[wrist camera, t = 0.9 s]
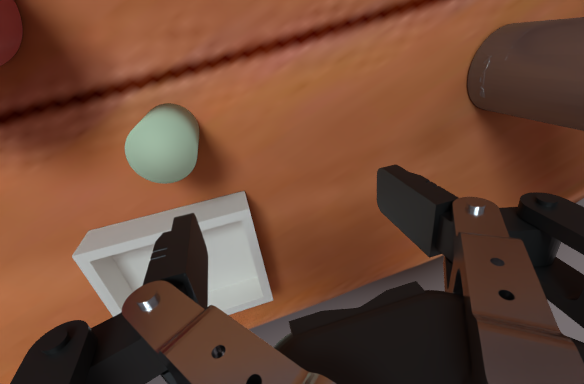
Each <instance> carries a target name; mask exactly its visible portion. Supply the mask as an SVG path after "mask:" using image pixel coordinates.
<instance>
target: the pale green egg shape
mask: <svg viewBox="0 0 584 384" xmlns="http://www.w3.org/2000/svg"><path fill="white" fill-rule="evenodd" d="M198 143H199V125H198V122H197V120H196V118H195V117H194V115H193V114H192V113H191V112H190V111H189V110H187V109H186V108H184V107H182V106H180V105H177V104H171V103H166V104H161V105H158V106H156V107H154V108H153V109H152V110H150V112H149V113H148V114H147V115H146V116H145V117H144V118H143V119H142V120H141V121H140V122H139V123H138V124H137V125H136V126H135V127H134V128H133V130H132V131H131V132H130V133H129V135H128V137H127V139H126V143H125V154H126V158H127V160H128V162H129V164H130V166H131V167H132V168H133V170H134V171H135V172H136V173H138V174H139V175H140V176H142V177H143V178H145V179H147V180H149V181H152V182H156V183H173V182H177V181H179V180H182V179H183V178H185V177H186V176H188V175H189V174H190V173H191V171H192V170H193V169H194V167H195V164H196V161H197V154H198Z"/></svg>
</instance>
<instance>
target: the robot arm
mask: <svg viewBox="0 0 584 384" xmlns="http://www.w3.org/2000/svg"><path fill="white" fill-rule="evenodd" d="M468 93H469V96H470V98H471V100H472V102H473V103H474V104H475V105H476V106H477V107H479V108H481V109H484V110H488V111H493V112H498V113H502V114H507V115H511V116H516V117H520V118H525V119H530V120H535V121H539V122H544V123H549V124H554V125H558V126H563V127H568V128H573V129H577V130H582V131H584V17H581V18H570V19H558V20H545V21H534V22H523V23H513V24H508V25H505V26H503V27H501V28H499V29H497V30H496V31H495V32H493V33H492V34H491V35H490V36H489V37H488V38H487V39H486V40H485V41H484V42H483V44H482V45H481V46H480V48H479V49H478V51H477V53H476V54H475V56H474V58H473V61H472V64H471V66H470V70H469V74H468ZM377 204H378V207H379V209H380V211H381V212H382V213H383V214H384V215H385V216H386V217H387V218H388V219H389V220H390V221H391V222H392V223H393V224H395V225H396V226H397V227H398V228H399V229H400V230H401V231H402V232H403V233H404V234H405V235H406V236H407V237H408V238H409V239H410V240H411V241H413V242H414V243H415V244H416V245H417V246H418V247H419V248H420V249H421V250H422V251H423V252H424V253H425V254H426V255H427V256H428V257H433V256H436V255H439V254H443V255H444V262H443V266H444V284H445V292H444V291H434V290H431V291H430V290H426V291H424V290H423V288H422V287H421V286H420V285H419V284H418V283H417V282H416V281H415V282H412V283H408V284H405V285H402V286H399V287H396V288H393V289H390V290H386V291H385V292H383V293H382V294H380V295H379V296H377V297H376V298H374V299H372V300H371V301H369V302H368V303H366V304H364V305H363V306H361V307H359V308H353V309H340V310H328V311H320V312H317V313H314V314H311V315H308V316H304V317H301V318H298V319H295V320H292V321H289V324H290V329H291V333H290V334H288V335H287V336H285V337H284V338H283V339H282V340H280V341H279V342H278V343H277V344H276V345H275V346H274V347H272V346H271V345H269V344H268V343H266V342H265V341H264V340H262V339H261V338H259V337H258V336H257V335H255V334H254V333H252V332H251V331H250V330H248V329H247V328H245V327H244V326H243V325H241V324H240V323H238V322H237V321H236V320H234V319H233V318H231V317H230V316H229V315H227V314H226V313H224V312H223V311H222V310H220V309H219V308H217V307H216V306H214V305H210V306H208V252H207V247H206V244H205V241H204V238H203V235H202V232H201V229H200V227H199V224H198V221H197V218H196V216H195V214H194V213H190V214H186V215H182V216H178V217H174V220H173V224H172V229H171V231H168V232H164V233H162V235H161V236H160V237H159V238H158V239H157V240H156V242H155V244H154V248H153V253H152V255H151V258H150V259H151V260H150V261H149V265H148V268H147V272H146V275H145V278H144V282H143V285H142V286H141V287H139V288H138V289H136V290H135V291H134V292H133V293H131V294H130V295H129V297H128V298H127V299H126V300H125V302H124V304H123V306H122V312H121V313H119V314H118V315H116V316H114V317H112V318H110V319H108V320H106V321H104V322H103V323H101V324H99V325H97V326H95V327H93V328H90V327H89V326H88V324H87V323H86V322H84V321H81V320H74V321H70V322H66V323H64V324H61V325H59V326H57V327H55V328H54V329H52V330H50V331H49V332H47V333H46V334H45V335H43V336H42V337H41V338H40V339H39V340H37V341H36V342H35V344H34V345H33V346H32V347H31V348H30V349H29V351H28V352H27V354H26V356H25V357H24V359H23V361H22V363H21V365H20V367H19V368H18V370H17V372H16V374H15V376H14V378H13V379H12V381H11V383H10V384H145V383H147V382H149V381H150V380H152V379H153V378H155V377H157V376H158V375H161V377H163V379H164V380H165V381H166V383H167V384H584V343H583V342H580V341H578V340H575V339H573V338H570V337H567V336H565V335H563V334H562V333H561V332H560V330H559V328H558V326H557V323H556V321H555V318H554V316H553V313H552V311H551V309H550V306H549V304H548V301H547V299H548V300H549V301H550V302H551V303H553V304H554V305H555V306H556V307H558V308H559V309H560V310H562V311H563V312H564V313H565V314H567V315H568V316H569V317H570V318H572V319H573V320H574V321H575V322H577V323H578V324H579V325H580V326H582V327H583V328H584V275H583V274H582V273H580V272H579V271H577V270H575V269H574V268H572V267H571V266H569V265H567V264H566V263H564V262H563V261H561V260H560V259H558V258H557V257H555V256H556V253H557V251H558V249H559V246H560V244H561V242H563V243H564V244H566V245H568V246H569V247H571V248H573V249H574V250H576V251H578V252H580V253H581V254H583V255H584V207H582V206H580V205H578V204H576V203H573V202H571V201H569V200H567V199H564V198H562V197H559V196H556V195H552V194H547V193H527V194H524V195H522V196H521V198H520V201H519V204H518V207H509V208H499V207H498V206H497V205H496V204H495V203H493V202H491V201H489V200H486V199H483V198H478V197H462V198H458V197H456V196H455V195H453V194H451V193H450V192H448V191H446V190H445V189H443V188H441V187H440V186H437V185H436V184H434V183H433V182H430V181H429V180H428V179H426V178H424V177H423V176H421V175H417V174H414V173H411V172H408V171H406V170H405V169H403V168H401V167H400V166H398V165H391V166H387V167H383V168H380V169H378V172H377Z"/></svg>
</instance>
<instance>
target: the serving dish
mask: <svg viewBox="0 0 584 384" xmlns="http://www.w3.org/2000/svg"><path fill="white" fill-rule="evenodd" d="M190 213H194V214H195V216H196V218H197V221H198V224H199V227H200V229H201V232H202V235H203V238H204V241H205V244H206V247H207V252H208V306H210V305H214V306H216V307H217V308H219V309H220V310H222V311H223V312H224V313H226V314H227V315H230V314H233V313H236V312H239V311H242V310H245V309H248V308H251V307H254V306H257V305H260V304H263V303H266V302H270V301H273V297H272V293H271V290H270V286H269V282H268V278H267V274H266V271H265V267H264V263H263V259H262V255H261V252H260V248H259V244H258V240H257V236H256V233H255V229H254V225H253V221H252V217H251V213H250V210H249V206H248V202H247V199H246V195H245V191H242V192H238V193H234V194H230V195H226V196H222V197H218V198H214V199H211V200H207V201H203V202H199V203H195V204H191V205H187V206H183V207H179V208H175V209H172V210H168V211H164V212H160V213H156V214H152V215H148V216H144V217H140V218H137V219H133V220H129V221H125V222H121V223H117V224H113V225H109V226H105V227H102V228H98V229H94V230H90V231H88V232H87V234H86V236H85V237H84V239H83V240H82V242H81V243H80V245H79V246H78V248H77V249H76V251H75V252H74V254H73V255H72V257H73V259H74V260H75V262H76V263H77V265H78V266H79V267H80V269H81V270H82V272H83V273H84V275H85V276H86V278H87V279H88V281H89V282H90V284H91V285H92V287H93V288H94V289H95V291H96V292H97V294H98V295H99V297H100V298H101V300H102V301H103V303H104V304H105V306H106V307H107V309H108V310H109V311H110V313H111V314H112V316H113V317H114V316H116V315H118V314H119V313H121V312H122V306H123V304H124V302H125V300H126V299H127V298H128V297H129V295H130V294H131V293H133V292H134V291H135V290H136V289H138V288H139V287H141V286H142V285H143V282H144V278H145V275H146V272H147V268H148V265H149V261H150V260H151V259H150V258H151V255H152V253H153V248H154V244H155V242H156V240H157V239H158V238H159V237H160V236H161V235H162V233H164V232H168V231H171V229H172V224H173V220H174V217H178V216H182V215H186V214H190Z"/></svg>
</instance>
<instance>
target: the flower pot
mask: <svg viewBox="0 0 584 384" xmlns="http://www.w3.org/2000/svg"><path fill="white" fill-rule="evenodd" d="M22 35H23V27H22V21H21V16H20V13H19V10H18V8H17V5H16V3H15V1H14V0H0V66H1V65H3V64H5V63H6V62H8V61H9V60H10V59H11V58H12V57H13V56H14V55H15V54H16V52H17V51H18V49H19V47H20V44H21V41H22Z"/></svg>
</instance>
